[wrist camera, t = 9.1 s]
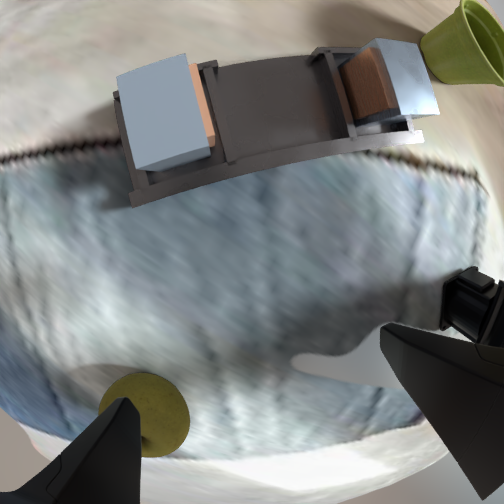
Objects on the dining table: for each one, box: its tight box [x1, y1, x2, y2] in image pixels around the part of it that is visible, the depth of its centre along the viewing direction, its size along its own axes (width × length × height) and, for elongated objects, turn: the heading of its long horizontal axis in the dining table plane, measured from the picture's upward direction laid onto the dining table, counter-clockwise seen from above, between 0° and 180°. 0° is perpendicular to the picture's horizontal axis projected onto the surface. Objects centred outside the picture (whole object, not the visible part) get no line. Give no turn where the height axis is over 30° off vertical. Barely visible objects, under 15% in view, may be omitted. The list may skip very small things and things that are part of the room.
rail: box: [113, 38, 439, 208], centre depth 15 cm, size 8×22×7 cm, turn 103°
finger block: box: [116, 54, 215, 172], centre depth 14 cm, size 5×4×6 cm
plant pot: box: [420, 0, 504, 87], centre depth 14 cm, size 9×9×9 cm
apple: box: [99, 373, 190, 457], centre depth 19 cm, size 8×8×7 cm
